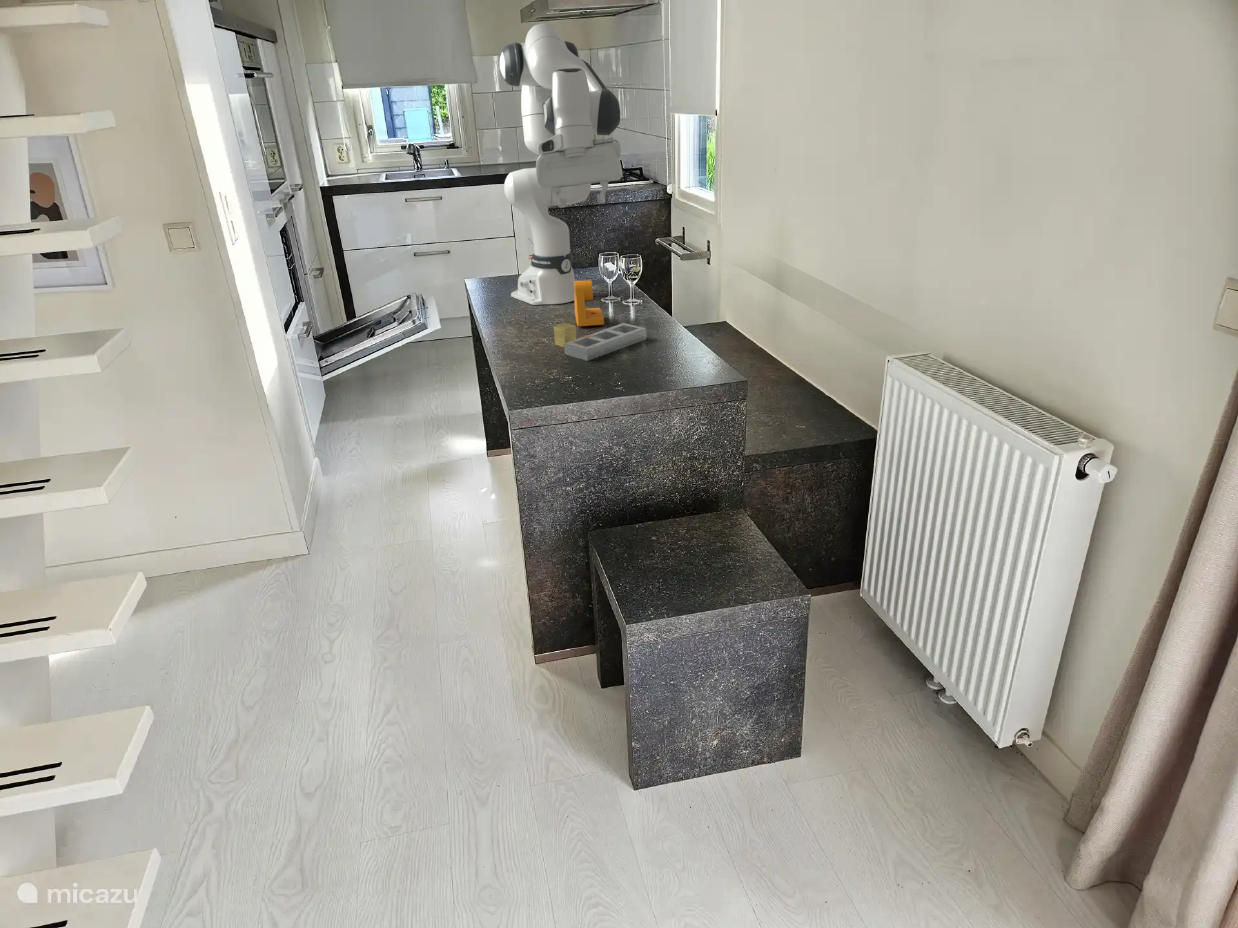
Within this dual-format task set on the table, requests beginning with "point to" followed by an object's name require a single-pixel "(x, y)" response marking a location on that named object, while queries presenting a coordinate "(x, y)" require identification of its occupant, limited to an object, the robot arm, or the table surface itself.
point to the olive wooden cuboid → (564, 333)
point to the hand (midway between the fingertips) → (582, 205)
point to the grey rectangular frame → (605, 341)
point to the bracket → (583, 315)
